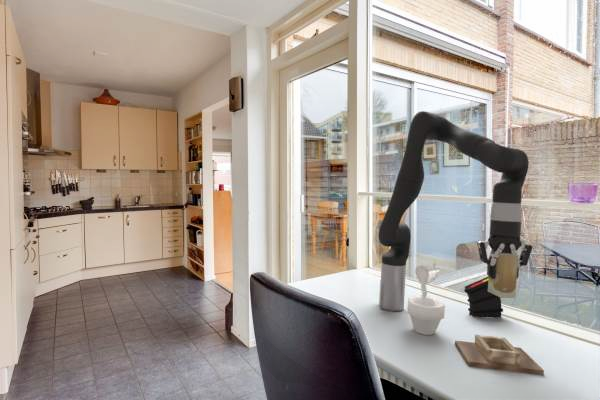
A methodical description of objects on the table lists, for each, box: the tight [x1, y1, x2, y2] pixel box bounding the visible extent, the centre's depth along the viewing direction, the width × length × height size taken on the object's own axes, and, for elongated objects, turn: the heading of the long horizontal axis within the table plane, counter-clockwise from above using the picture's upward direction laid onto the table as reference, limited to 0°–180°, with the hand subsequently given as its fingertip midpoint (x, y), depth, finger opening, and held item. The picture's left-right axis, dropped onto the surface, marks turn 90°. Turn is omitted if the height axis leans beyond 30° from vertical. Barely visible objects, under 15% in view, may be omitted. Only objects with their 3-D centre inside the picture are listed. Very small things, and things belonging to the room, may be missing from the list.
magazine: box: [463, 275, 504, 319], centre depth 130 cm, size 4×13×15 cm, turn 92°
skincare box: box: [488, 251, 519, 299], centre depth 98 cm, size 6×4×12 cm
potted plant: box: [406, 259, 446, 336], centre depth 113 cm, size 13×12×25 cm
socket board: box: [454, 334, 545, 376], centre depth 96 cm, size 18×13×4 cm
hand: (502, 278), depth 98 cm, fingers closed on skincare box, 5 cm apart
